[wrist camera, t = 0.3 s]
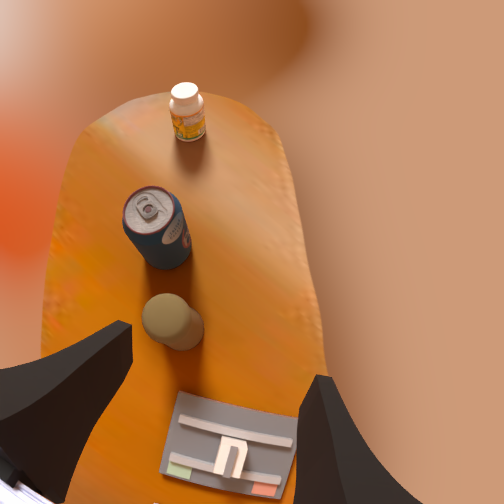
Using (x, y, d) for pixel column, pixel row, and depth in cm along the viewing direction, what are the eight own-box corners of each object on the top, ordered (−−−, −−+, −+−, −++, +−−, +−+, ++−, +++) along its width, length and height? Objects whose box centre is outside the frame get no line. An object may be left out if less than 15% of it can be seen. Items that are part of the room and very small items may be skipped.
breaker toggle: (238, 467, 31) (239, 480, 27) (214, 462, 32) (212, 474, 27) (246, 440, 33) (248, 450, 29) (222, 435, 33) (220, 444, 29)
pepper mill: (213, 334, 39) (206, 324, 29) (175, 359, 37) (155, 359, 27) (187, 296, 40) (172, 274, 30) (150, 321, 39) (123, 307, 28)
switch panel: (278, 494, 32) (281, 502, 29) (161, 468, 32) (157, 474, 30) (301, 418, 36) (306, 421, 33) (180, 390, 36) (177, 392, 34)
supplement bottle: (209, 137, 49) (206, 96, 40) (178, 146, 48) (170, 105, 39) (201, 116, 51) (197, 76, 42) (171, 124, 50) (163, 84, 41)
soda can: (202, 252, 42) (193, 213, 31) (161, 282, 41) (136, 252, 29) (175, 216, 44) (158, 170, 33) (135, 244, 42) (107, 204, 31)
